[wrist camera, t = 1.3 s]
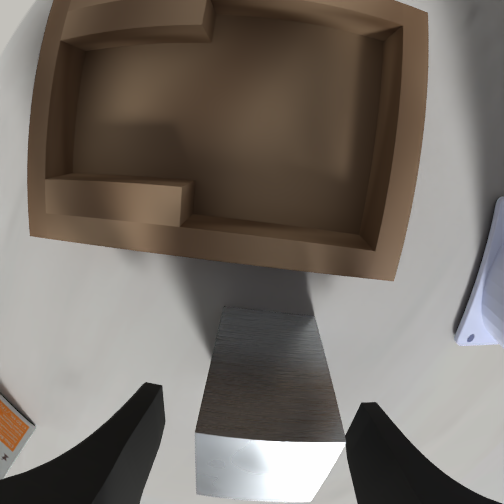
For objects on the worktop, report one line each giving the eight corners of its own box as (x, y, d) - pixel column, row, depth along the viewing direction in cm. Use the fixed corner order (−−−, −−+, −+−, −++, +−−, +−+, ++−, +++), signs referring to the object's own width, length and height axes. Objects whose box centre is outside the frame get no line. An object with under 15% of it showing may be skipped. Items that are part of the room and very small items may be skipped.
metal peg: (314, 315, 14) (346, 442, 7) (297, 382, 15) (310, 501, 8) (224, 306, 14) (195, 432, 7) (218, 374, 15) (196, 494, 8)
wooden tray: (402, 31, 9) (427, 13, 7) (373, 258, 13) (393, 281, 10) (82, 12, 9) (54, -4, 7) (60, 221, 13) (30, 236, 10)
